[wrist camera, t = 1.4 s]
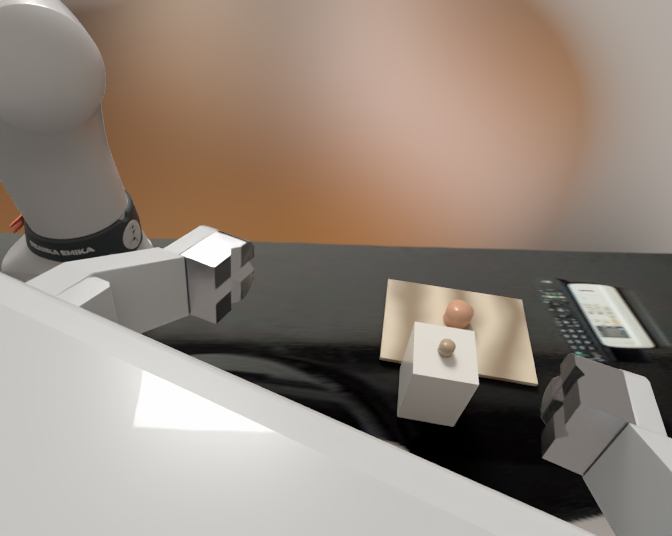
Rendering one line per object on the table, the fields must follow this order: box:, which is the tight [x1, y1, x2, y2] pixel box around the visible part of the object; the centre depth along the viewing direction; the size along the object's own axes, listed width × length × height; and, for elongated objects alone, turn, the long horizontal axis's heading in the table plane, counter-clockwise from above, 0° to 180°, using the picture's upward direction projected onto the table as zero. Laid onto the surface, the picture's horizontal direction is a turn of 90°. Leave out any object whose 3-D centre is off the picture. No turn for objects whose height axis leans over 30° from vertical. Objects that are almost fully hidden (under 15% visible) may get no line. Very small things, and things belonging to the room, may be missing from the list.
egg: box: [443, 300, 474, 330], centre depth 58 cm, size 4×4×2 cm
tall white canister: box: [397, 322, 479, 427], centre depth 47 cm, size 7×7×11 cm
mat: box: [380, 279, 538, 386], centre depth 58 cm, size 20×14×1 cm
